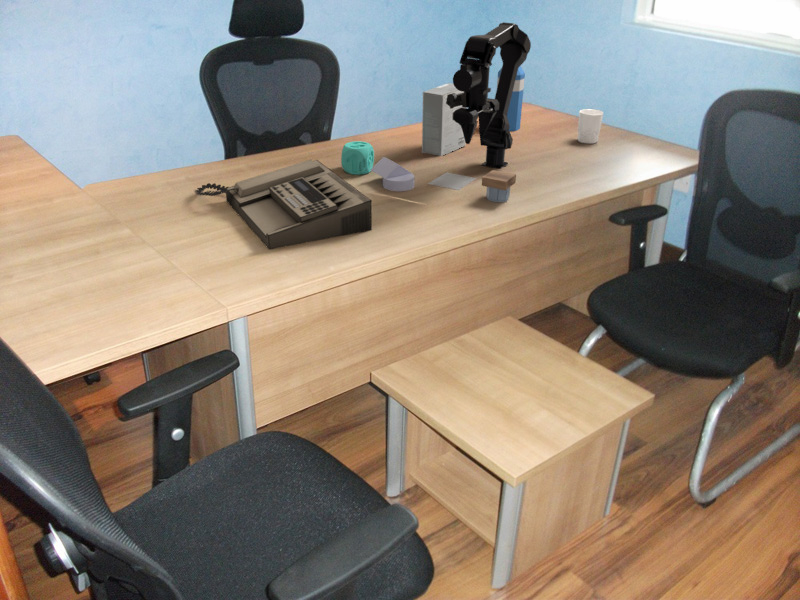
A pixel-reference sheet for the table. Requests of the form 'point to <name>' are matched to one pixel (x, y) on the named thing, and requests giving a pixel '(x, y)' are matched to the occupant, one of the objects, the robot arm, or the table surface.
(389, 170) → the wedge on round base
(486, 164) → the robot arm
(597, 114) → the white cup
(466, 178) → the mat
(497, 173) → the block
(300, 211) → the fax machine
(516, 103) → the water bottle
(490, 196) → the grey ring collar
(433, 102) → the hard drive box
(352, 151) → the decorative dice
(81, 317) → the table surface
